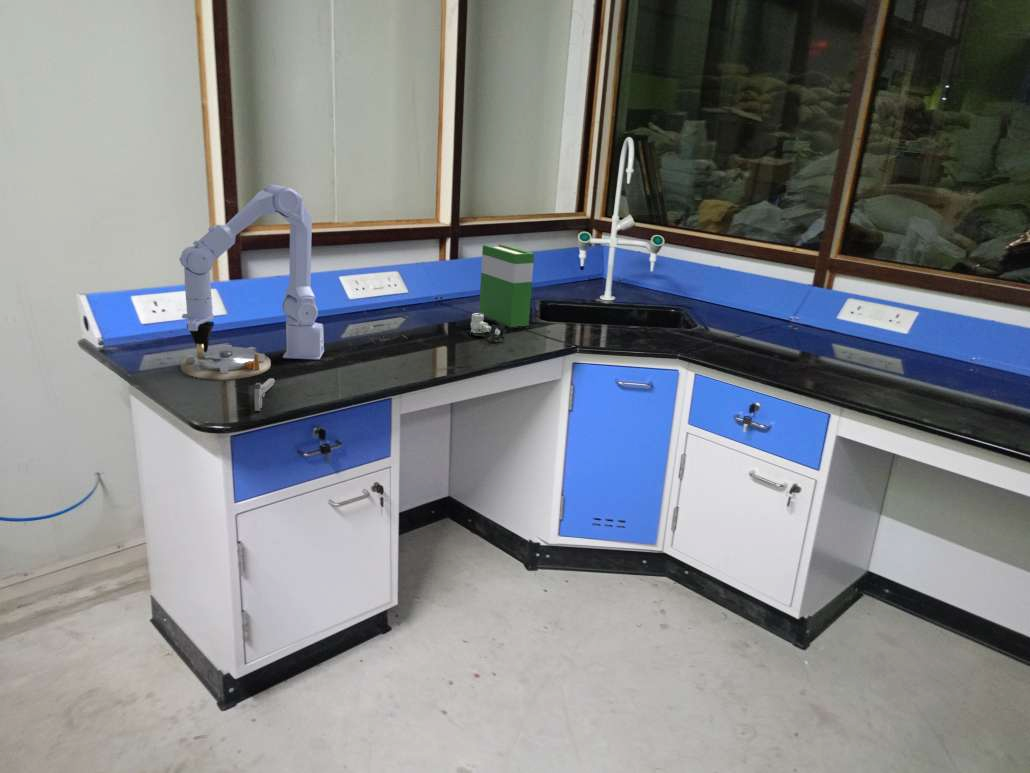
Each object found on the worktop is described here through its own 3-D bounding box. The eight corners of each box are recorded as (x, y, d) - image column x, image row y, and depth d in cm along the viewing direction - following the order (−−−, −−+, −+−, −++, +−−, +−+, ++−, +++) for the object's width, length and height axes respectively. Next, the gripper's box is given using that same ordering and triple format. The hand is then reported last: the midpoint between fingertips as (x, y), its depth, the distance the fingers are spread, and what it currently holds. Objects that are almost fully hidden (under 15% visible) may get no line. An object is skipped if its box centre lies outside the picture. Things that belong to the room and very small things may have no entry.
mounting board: (278, 355, 201) (278, 337, 200) (259, 381, 181) (258, 361, 180) (196, 351, 199) (195, 333, 198) (168, 377, 179) (166, 357, 178)
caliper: (260, 413, 164) (259, 386, 162) (254, 413, 163) (253, 386, 161) (275, 382, 183) (274, 357, 181) (270, 382, 183) (269, 357, 180)
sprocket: (229, 346, 201) (227, 327, 200) (280, 360, 194) (279, 340, 192) (170, 362, 186) (168, 341, 184) (223, 377, 178) (222, 356, 177)
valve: (464, 335, 234) (490, 344, 226) (465, 314, 231) (491, 323, 223) (480, 332, 238) (506, 341, 230) (481, 311, 236) (507, 320, 228)
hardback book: (478, 316, 256) (482, 245, 248) (496, 314, 260) (501, 244, 253) (510, 329, 243) (515, 254, 235) (528, 327, 247) (534, 253, 240)
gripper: (189, 290, 189) (193, 342, 193) (172, 303, 175) (176, 360, 180) (219, 291, 190) (222, 343, 194) (204, 305, 176) (208, 360, 181)
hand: (202, 351), depth 187 cm, fingers closed
